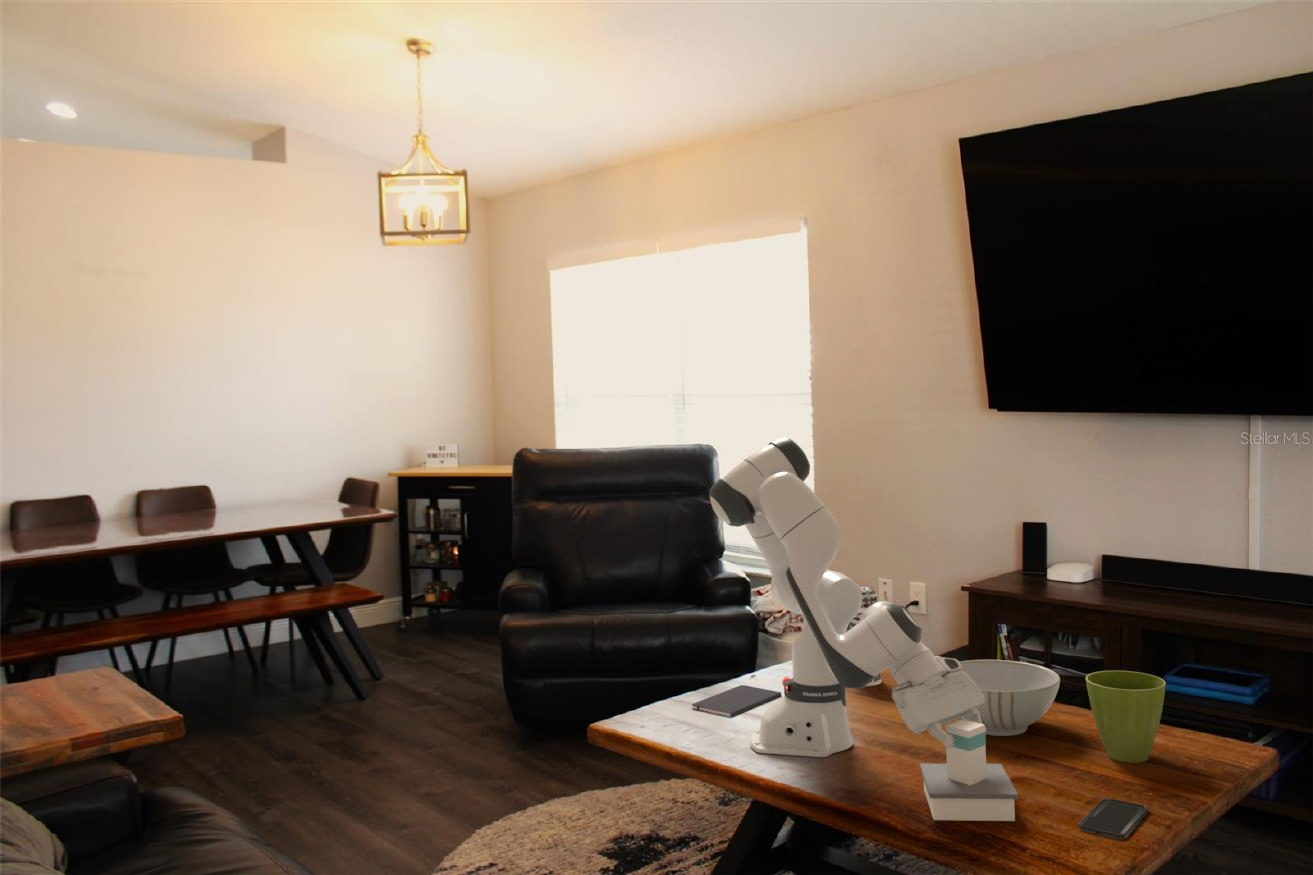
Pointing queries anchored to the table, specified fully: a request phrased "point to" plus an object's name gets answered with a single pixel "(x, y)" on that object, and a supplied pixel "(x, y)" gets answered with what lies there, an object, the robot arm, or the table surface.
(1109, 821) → the phone
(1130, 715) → the flower pot
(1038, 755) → the table surface
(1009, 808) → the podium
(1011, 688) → the decorative bowl
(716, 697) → the notebook
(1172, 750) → the table surface
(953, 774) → the carton
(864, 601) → the decorative candle
